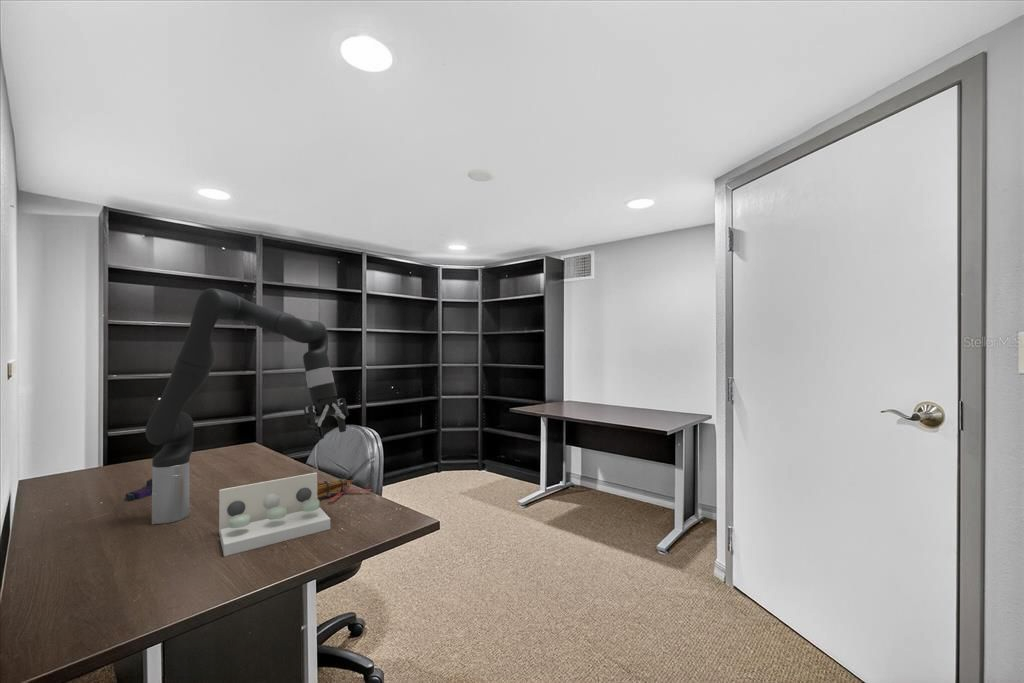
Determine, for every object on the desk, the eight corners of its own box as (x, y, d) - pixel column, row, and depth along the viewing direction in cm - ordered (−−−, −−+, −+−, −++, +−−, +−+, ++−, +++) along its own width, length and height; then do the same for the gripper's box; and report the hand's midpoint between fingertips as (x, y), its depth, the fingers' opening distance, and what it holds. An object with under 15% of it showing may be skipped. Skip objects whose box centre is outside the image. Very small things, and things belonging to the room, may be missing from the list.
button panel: (224, 556, 109) (224, 544, 109) (220, 540, 118) (220, 529, 118) (330, 528, 125) (330, 518, 125) (319, 516, 134) (319, 507, 134)
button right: (303, 512, 124) (303, 506, 124) (300, 508, 128) (300, 501, 128) (321, 509, 127) (321, 502, 127) (317, 504, 131) (317, 497, 131)
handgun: (114, 492, 161) (163, 481, 174) (129, 503, 150) (180, 490, 162) (114, 485, 161) (163, 474, 174) (129, 495, 150) (180, 483, 162)
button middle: (268, 521, 118) (268, 513, 118) (265, 515, 122) (265, 508, 122) (287, 516, 121) (287, 509, 121) (284, 511, 125) (284, 504, 125)
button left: (230, 529, 113) (230, 522, 113) (228, 524, 117) (228, 516, 117) (251, 525, 116) (251, 517, 116) (248, 519, 120) (248, 512, 120)
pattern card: (219, 537, 120) (219, 491, 120) (218, 532, 123) (218, 487, 124) (317, 514, 136) (317, 473, 137) (314, 510, 139) (314, 470, 140)
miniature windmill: (282, 515, 135) (372, 490, 155) (276, 482, 139) (365, 462, 159) (272, 526, 144) (359, 501, 165) (268, 495, 148) (353, 474, 168)
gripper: (330, 382, 139) (341, 431, 138) (292, 389, 126) (304, 443, 125) (347, 378, 136) (358, 428, 135) (310, 385, 123) (321, 440, 122)
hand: (332, 435), depth 130 cm, fingers open, 8 cm apart
